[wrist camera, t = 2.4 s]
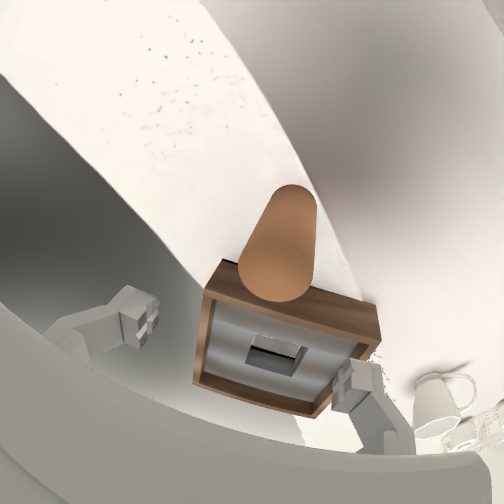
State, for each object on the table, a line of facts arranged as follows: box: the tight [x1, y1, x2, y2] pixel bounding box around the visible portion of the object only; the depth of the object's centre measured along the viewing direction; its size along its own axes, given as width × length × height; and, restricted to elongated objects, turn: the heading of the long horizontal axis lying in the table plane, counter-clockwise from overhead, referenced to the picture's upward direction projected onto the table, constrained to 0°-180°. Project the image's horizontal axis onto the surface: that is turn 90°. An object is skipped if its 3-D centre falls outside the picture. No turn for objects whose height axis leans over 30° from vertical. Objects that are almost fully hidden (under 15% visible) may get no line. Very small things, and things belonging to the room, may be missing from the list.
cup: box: [412, 372, 476, 441], centre depth 26 cm, size 7×10×8 cm
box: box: [192, 259, 382, 419], centre depth 29 cm, size 16×16×5 cm
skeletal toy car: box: [442, 401, 504, 455], centre depth 30 cm, size 20×11×7 cm, turn 126°
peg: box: [238, 185, 317, 302], centre depth 19 cm, size 4×4×10 cm
